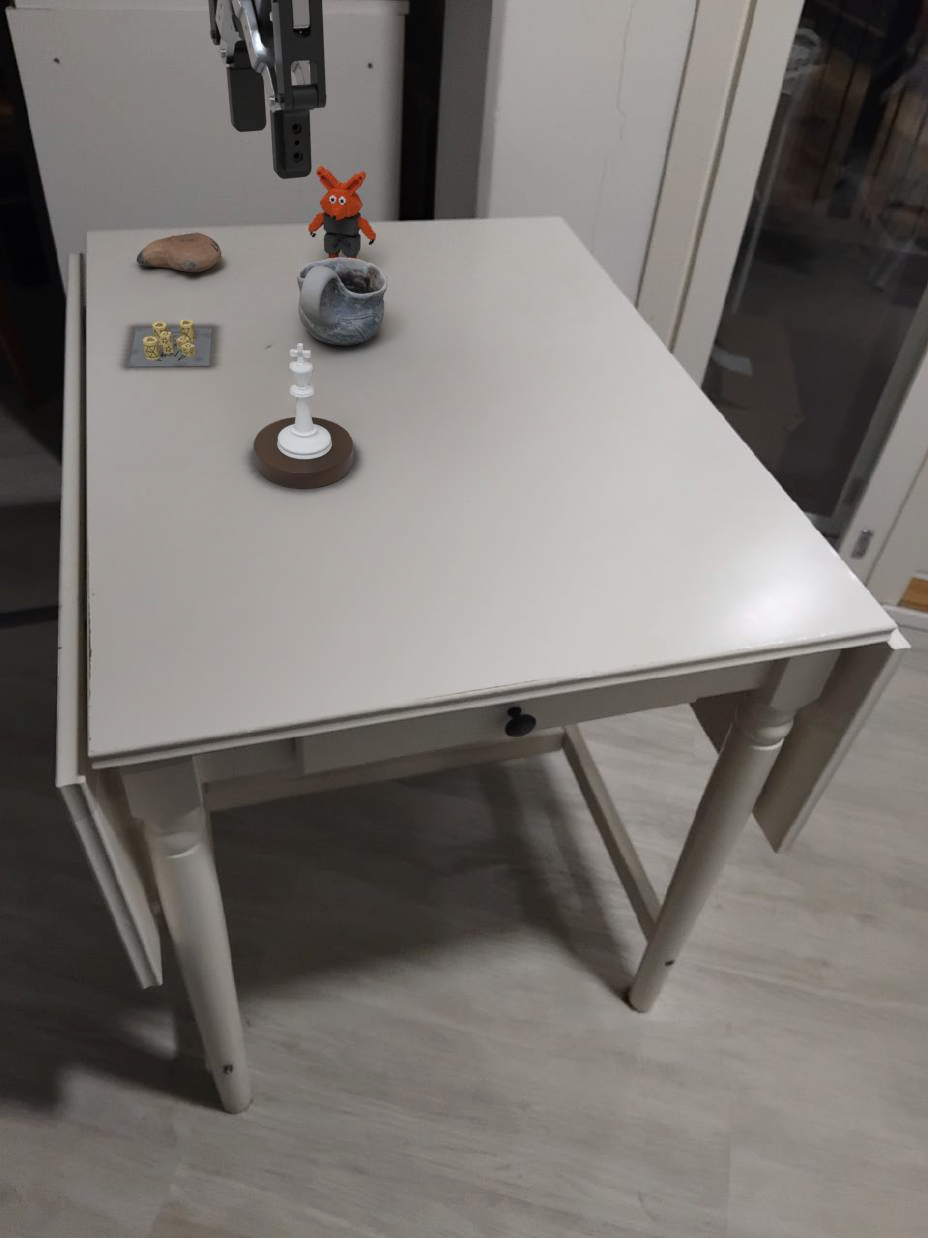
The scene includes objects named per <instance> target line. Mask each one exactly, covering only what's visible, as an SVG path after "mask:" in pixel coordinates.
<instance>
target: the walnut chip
mask: <svg viewBox="0 0 928 1238" xmlns="http://www.w3.org/2000/svg"><path fill="white" fill-rule="evenodd" d="M295 417H296V416H292V417H286V418H282V419H278V420H275V421H273V422H271V423H269V424H267V425H266V426H264V427H262V428H261V429H260V431H259V432H258V433H257V434H256V436H255V438H254V441H253V453H254V463H255V467H256V469H257V470H258V472H259V473H260V474H261V476H263V477H264V478H265V479H266V480H268V481H270V482H272V483H274V484H276V485H279V486H282V487H285V488H290V489H304V490H305V489H317V488H322V487H325V486H329V485H332V484H335V483H336V482H338V481H340V480H342V479H343V478H344V477H345V476H347V474H348V473H349V472H350V471H351V469H352V467H353V465H354V441H353V438H352V436H351V434H350V433H349V432H348V431H347V430H346V428H344V427H343V426H341V425H340V424H338V423H336V422H334V421H332V420H328V419H325V418H321V417H315V416H311V417H312V422H313V424H316V425H319V426H321V427H323V428H325V429H326V430H327V431H328V432H329V434H330V436H331V441H332V446H331V449H330V450H329V451H328V452H327V453H326V454H324V455H323V456H320V457H318V458H314V459H295V458H291V457H289V456H287V455H285V454H283V453H282V452H281V451H280V450H279V448H278V445H277V442H278V435H279V433H280V432H281V431H282V430H283V429H284V428H286V427H287V426H290V425H293V424H295Z"/></svg>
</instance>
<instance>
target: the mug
mask: <svg viewBox="0 0 928 1238" xmlns="http://www.w3.org/2000/svg"><path fill="white" fill-rule="evenodd" d="M296 281H297V285H298V289H299V299H298V309H297V310H298V315H299V320H300V321H301V323H302V325H303V327H304V328H305V329H306V330H307V332H308V333H309V334H310V335H311V336H312V337H313V338H314V339H316V340H317V341H319V342H323V343H327V344H330V345H336V346H340V347H345V346H352V345H353V346H354V345H358V344H362V343H365V342H366V341H368V340H370V339H371V338H372V337H373V336H374V335H375V334H376V333H377V332H378V331H379V329H380V328H381V324H382V323H383V320H384V315H385V299H384V297H385V294H386V291H387V290H388V276H387V275H386V274H385V273H384V272H383V270H382V269H381V268H379V267H378V266H377V265H375V264H374V263H372V262H368V261H366V260H363V259H360V258H356V259H354V258H346V257H341V256H339V258H329V257H328V258H325V259H321V260H316V261H312V262H309V263H306V264H305V265H303V266H302V267H301V268H299V270H298V271H297V275H296Z"/></svg>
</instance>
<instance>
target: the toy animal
mask: <svg viewBox="0 0 928 1238" xmlns="http://www.w3.org/2000/svg"><path fill="white" fill-rule="evenodd" d="M315 175H316V176H317V177H318V178H319V182H320V183H321V184H322V186H323V188H325V190H327V192H326V193H325V195H323V197H322V198H321V199H320V201H319V206H320V208H321V210H322V212H317V213H316V215H315V217H314V218H313V219H312V221H311V222H310V223H309V224H308V228H307V229H308V232H309V236H311V238H316V236H317V233H316V232H317V231H318V230H319V229H320V228H322V227H323V231H324V232H325V234H324V235H323V252H325V254H327V255H328V259H329V258H339V257H340V253H342V254H343V256H344V257H345V258H354V259H357V256H358V255H359V253H360V251H361V247H362V245H361V244H362V242H361V241H362V236H361V234H360V232H362V234H363V235H364V236H365V238H367V239H368V240H369V242H368V245H370V246H372V245H373V244H374V243H375V241H376V238H377V233H376V232H375V231H374V230H373V228H372V226H371V224H369V223H370V222H369V220H368V219H367V218H364V217H362V213H361V212H360V211H361V209H362V208H363V205H364V204H363V202H362V199H361V197H360V195H359V194H358V192H357V191H358V190H359V189H360V188H361V187H362V186H363V183H364V181H365V179H366V177H367V172H365V170H362V171H360V172H359V173H354V174H352V176H351V177H350V178H349V179H348V180H347V181H345V182H342V181H340V180H338V179H337V177H336V176H335V175H334V173H332V172H331V171H330V170H329V169H326V168H325V167H324V166H323V165H320V166H318V168H317V170H316V171H315Z"/></svg>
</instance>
